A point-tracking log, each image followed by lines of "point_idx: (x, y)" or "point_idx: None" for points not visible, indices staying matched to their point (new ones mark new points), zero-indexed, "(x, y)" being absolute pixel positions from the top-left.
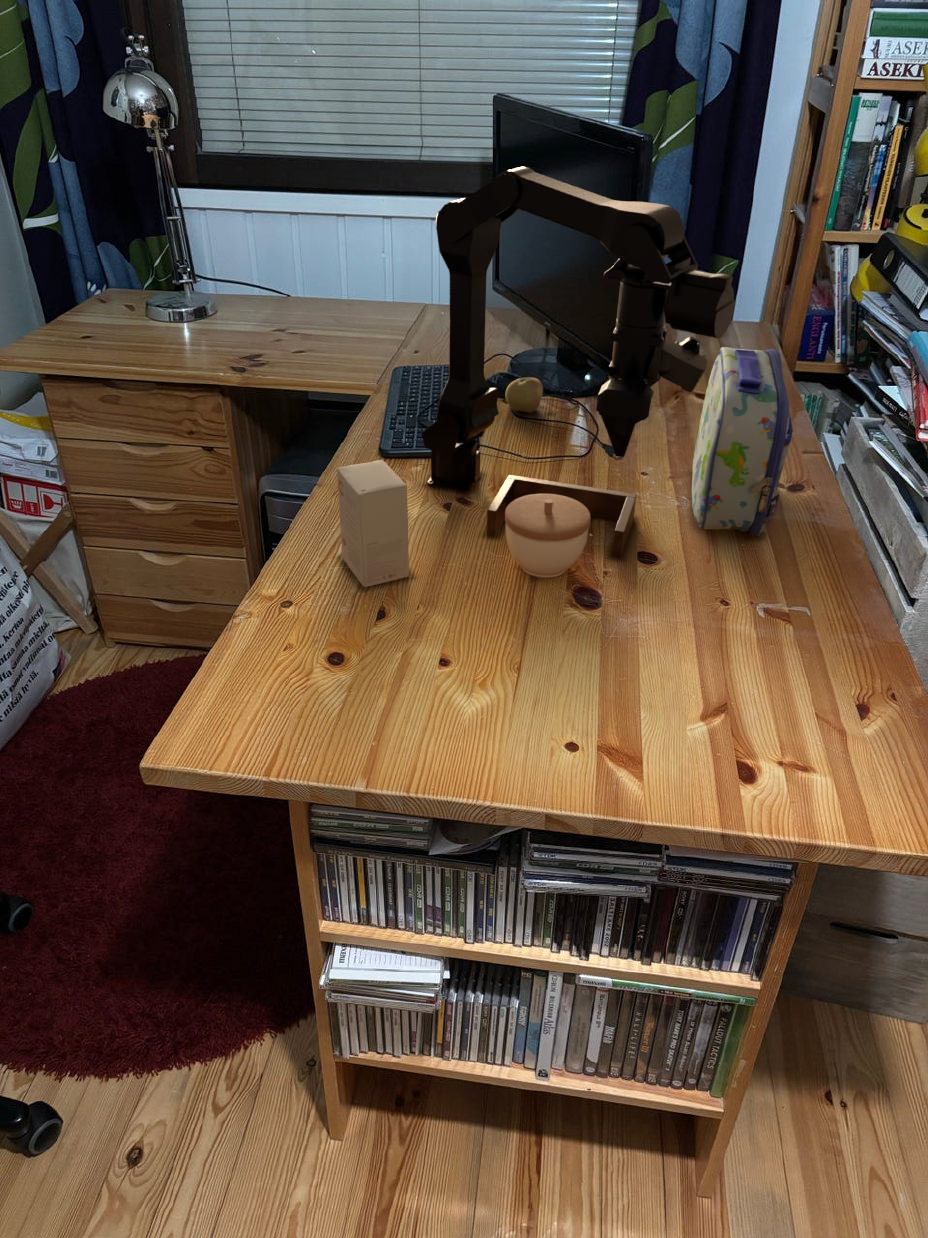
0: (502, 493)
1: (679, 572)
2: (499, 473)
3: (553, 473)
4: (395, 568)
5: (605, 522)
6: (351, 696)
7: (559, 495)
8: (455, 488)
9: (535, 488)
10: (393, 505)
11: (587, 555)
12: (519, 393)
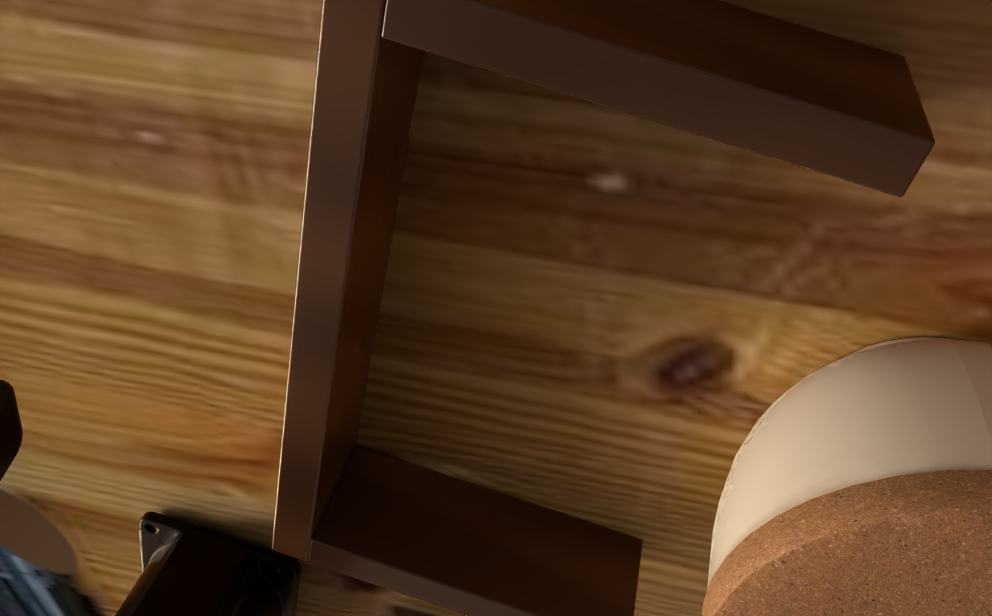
0: (458, 599)
1: None
2: (112, 449)
3: (17, 261)
4: None
5: (460, 84)
6: None
7: (740, 602)
8: (296, 593)
9: (332, 451)
10: None
11: (840, 229)
12: None
